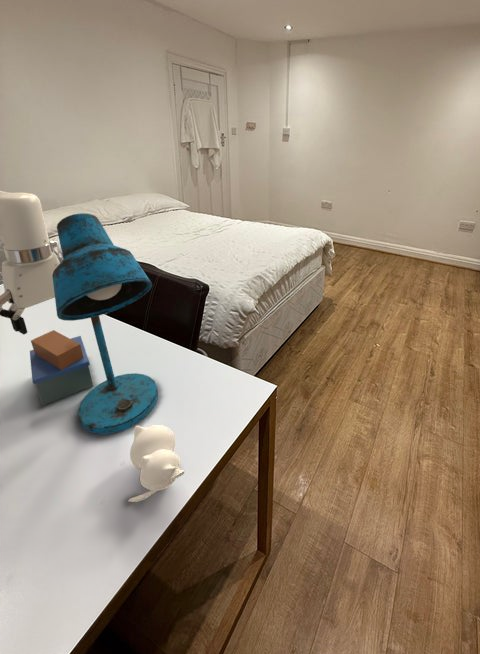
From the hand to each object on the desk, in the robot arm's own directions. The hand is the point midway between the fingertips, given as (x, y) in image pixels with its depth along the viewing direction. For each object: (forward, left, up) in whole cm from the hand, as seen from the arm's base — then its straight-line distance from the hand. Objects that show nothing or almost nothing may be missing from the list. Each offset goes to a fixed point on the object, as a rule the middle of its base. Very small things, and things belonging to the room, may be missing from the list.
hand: (46, 321), depth 74 cm
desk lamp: (+21, -1, -18) cm, 27 cm away
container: (+1, 0, -17) cm, 17 cm away
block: (+1, 0, -10) cm, 10 cm away
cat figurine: (+38, -10, -18) cm, 43 cm away
